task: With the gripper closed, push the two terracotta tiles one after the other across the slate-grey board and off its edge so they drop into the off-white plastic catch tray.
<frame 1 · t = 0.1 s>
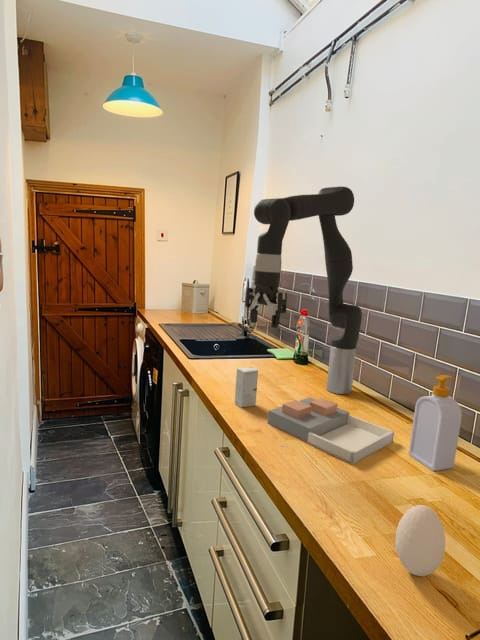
hand: (263, 325, 122), 29 cm above the countertop, fingers open, 8 cm apart
tray: (350, 442, 114), on the countertop
soap bottle: (431, 462, 106), on the countertop
board: (308, 423, 125), on the countertop
tile a: (322, 410, 125), point 4 cm above the countertop, touching board
skincare box: (245, 404, 137), on the countertop
egg: (415, 572, 68), on the countertop
tile b: (296, 413, 122), point 4 cm above the countertop, touching board
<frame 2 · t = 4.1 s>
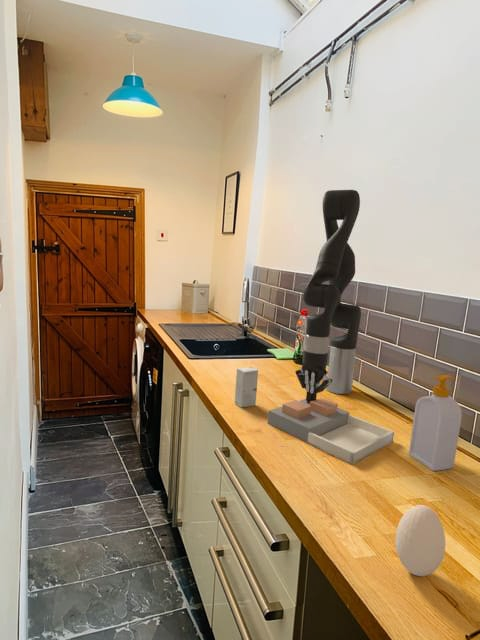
hand: (310, 403, 128), 5 cm above the countertop, fingers closed
tile a: (323, 410, 125), point 4 cm above the countertop, touching gripper
everything else where it was.
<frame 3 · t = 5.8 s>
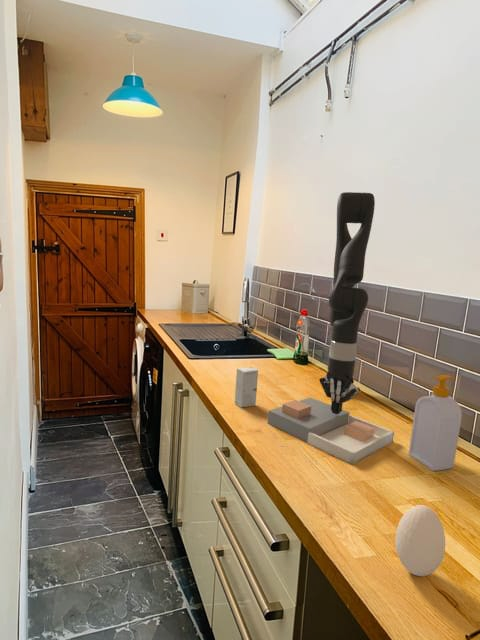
hand: (335, 413, 122), 5 cm above the countertop, fingers closed
tile a: (359, 427, 117), point 3 cm above the countertop, tilted 180°, touching tray
everything else where it was.
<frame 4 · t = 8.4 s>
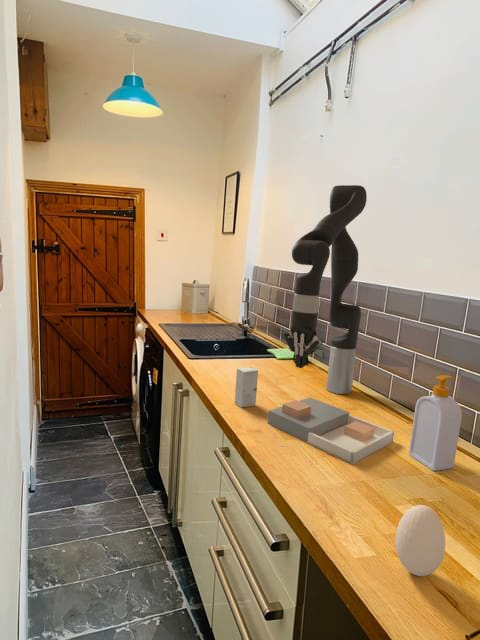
hand: (299, 367, 123), 17 cm above the countertop, fingers closed
nothing on the countertop moved.
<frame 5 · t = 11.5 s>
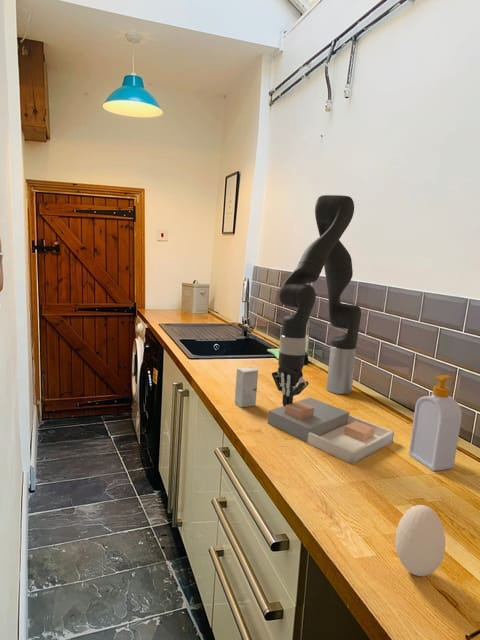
hand: (287, 406, 124), 5 cm above the countertop, fingers closed
tile b: (299, 414, 121), point 4 cm above the countertop, touching gripper
everything else where it was.
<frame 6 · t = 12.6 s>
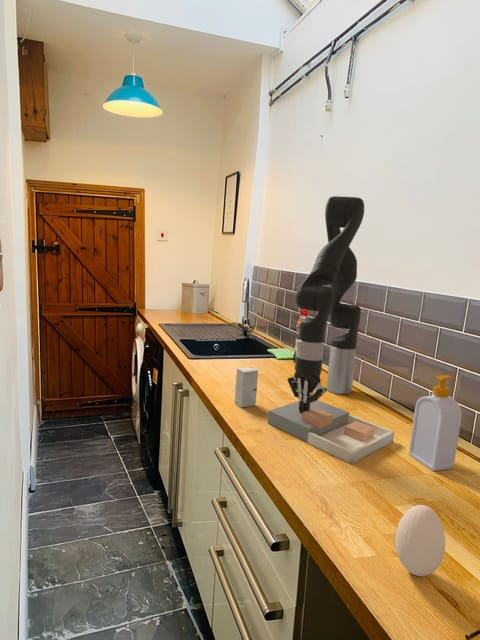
hand: (303, 413, 120), 5 cm above the countertop, fingers closed
tile b: (316, 421, 117), point 4 cm above the countertop, touching gripper
everything else where it was.
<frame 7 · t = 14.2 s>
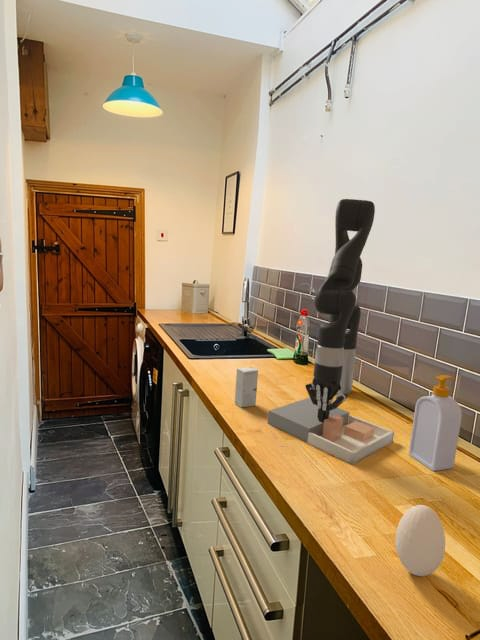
hand: (322, 421, 115), 5 cm above the countertop, fingers closed
tile b: (328, 427, 115), point 4 cm above the countertop, tilted 90°, touching gripper, tray
everything else where it was.
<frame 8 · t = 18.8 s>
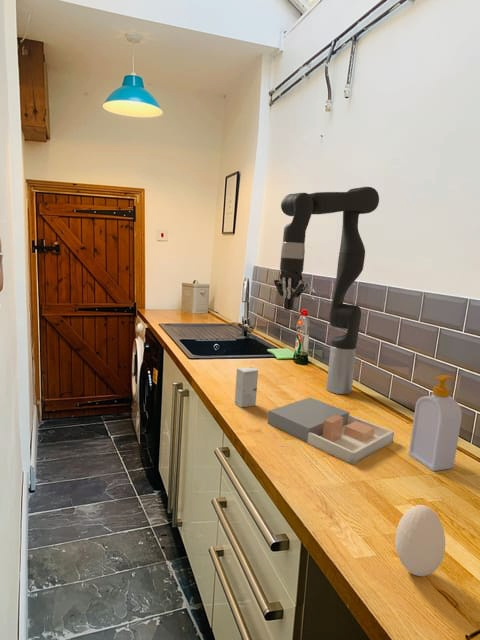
hand: (288, 309, 136), 32 cm above the countertop, fingers closed
tile b: (328, 427, 115), point 3 cm above the countertop, tilted 90°, touching tray
everything else where it was.
at the end: tile a inside the target area (4.9 cm from its centre), point 3.0 cm above the countertop; tile b inside the target area (6.4 cm from its centre), point 3.5 cm above the countertop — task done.
